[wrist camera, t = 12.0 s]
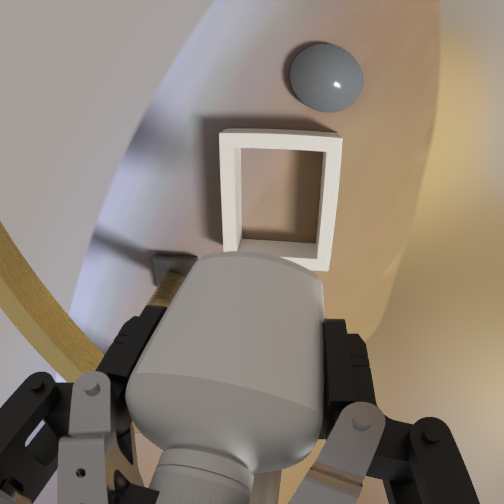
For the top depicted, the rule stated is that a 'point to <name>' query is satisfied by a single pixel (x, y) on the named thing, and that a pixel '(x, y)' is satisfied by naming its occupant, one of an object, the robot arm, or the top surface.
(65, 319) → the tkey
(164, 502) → the eye dropper bottle
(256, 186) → the top surface
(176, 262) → the key plate
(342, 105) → the grey round disc
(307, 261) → the white rectangular frame
